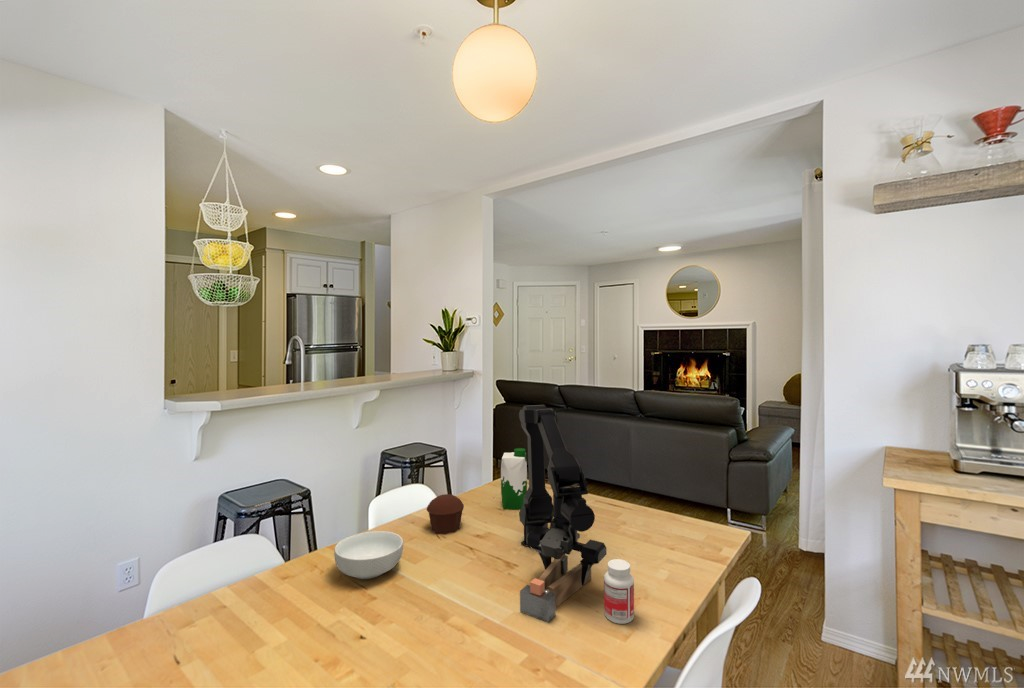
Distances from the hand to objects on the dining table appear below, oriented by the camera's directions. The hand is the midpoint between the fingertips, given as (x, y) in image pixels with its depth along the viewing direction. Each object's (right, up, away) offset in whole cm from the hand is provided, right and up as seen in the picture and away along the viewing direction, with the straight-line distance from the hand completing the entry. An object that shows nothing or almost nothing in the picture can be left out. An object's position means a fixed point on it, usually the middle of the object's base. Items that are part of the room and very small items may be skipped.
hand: (565, 579), depth 109 cm
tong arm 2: (+1, -1, -3) cm, 4 cm away
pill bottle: (+10, -2, -12) cm, 16 cm away
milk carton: (-12, -1, +51) cm, 52 cm away
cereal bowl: (-49, -2, +7) cm, 50 cm away
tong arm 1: (-3, -1, -1) cm, 4 cm away
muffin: (-34, -1, +33) cm, 47 cm away
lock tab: (-7, +3, -11) cm, 14 cm away
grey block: (-7, -2, -11) cm, 13 cm away
